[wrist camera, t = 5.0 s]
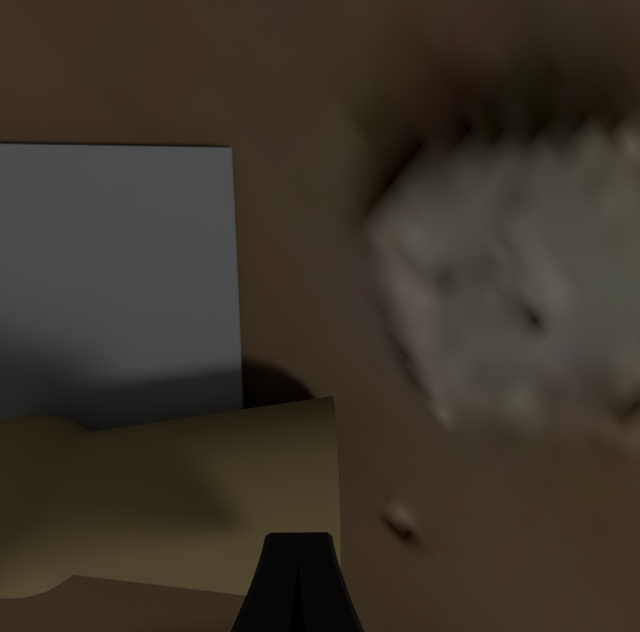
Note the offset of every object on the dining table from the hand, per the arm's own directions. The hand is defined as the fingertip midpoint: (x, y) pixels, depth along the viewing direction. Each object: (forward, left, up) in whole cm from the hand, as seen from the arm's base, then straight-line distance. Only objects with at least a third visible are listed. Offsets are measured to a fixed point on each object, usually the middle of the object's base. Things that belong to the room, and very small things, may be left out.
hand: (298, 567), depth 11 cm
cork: (-2, -1, -4) cm, 5 cm away
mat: (0, +7, -7) cm, 10 cm away
